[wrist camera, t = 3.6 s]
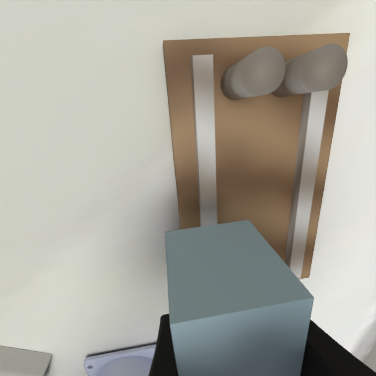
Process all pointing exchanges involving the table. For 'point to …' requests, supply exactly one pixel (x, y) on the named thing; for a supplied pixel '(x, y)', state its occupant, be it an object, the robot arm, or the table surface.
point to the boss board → (255, 133)
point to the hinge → (23, 362)
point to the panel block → (234, 304)
